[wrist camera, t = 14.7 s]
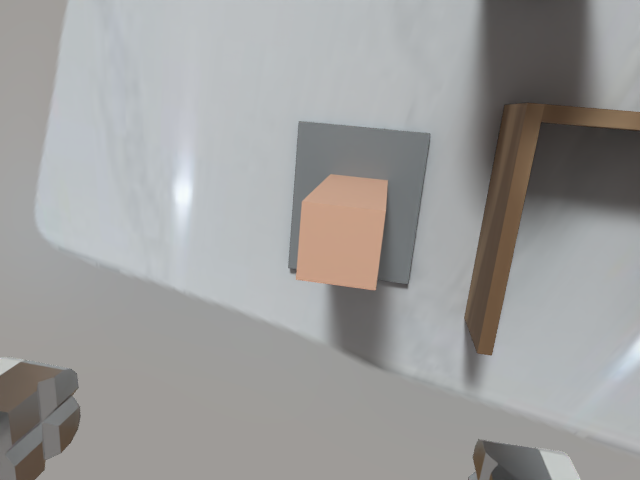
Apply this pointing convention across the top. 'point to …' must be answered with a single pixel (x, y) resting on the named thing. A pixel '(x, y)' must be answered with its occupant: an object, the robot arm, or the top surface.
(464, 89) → the top surface
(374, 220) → the terracotta block
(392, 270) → the slate coaster
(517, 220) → the walnut bay
